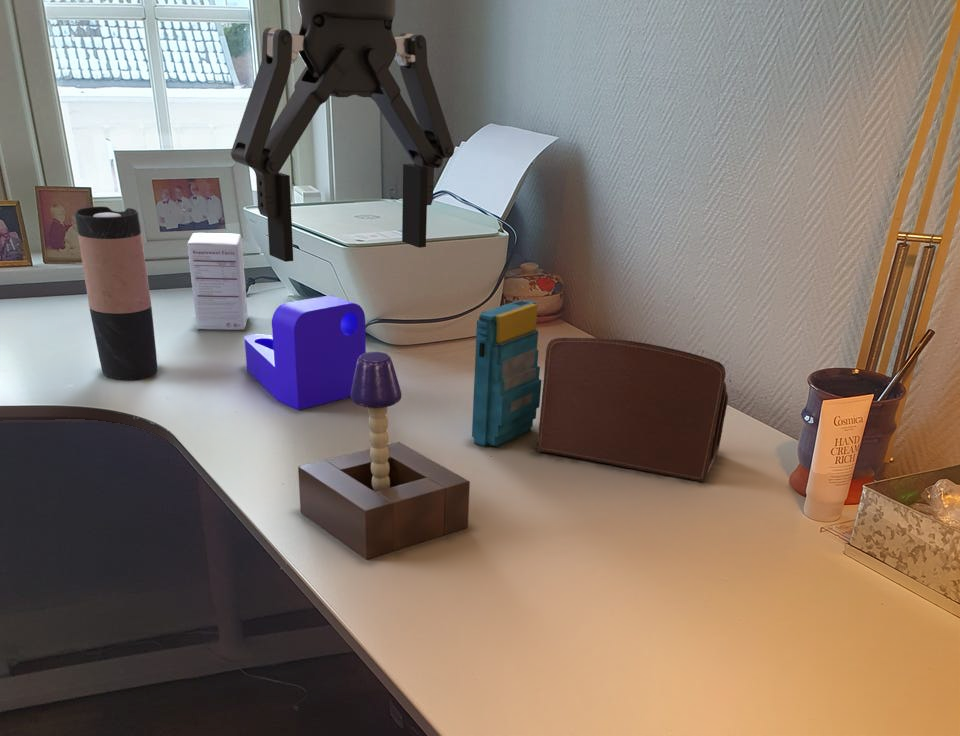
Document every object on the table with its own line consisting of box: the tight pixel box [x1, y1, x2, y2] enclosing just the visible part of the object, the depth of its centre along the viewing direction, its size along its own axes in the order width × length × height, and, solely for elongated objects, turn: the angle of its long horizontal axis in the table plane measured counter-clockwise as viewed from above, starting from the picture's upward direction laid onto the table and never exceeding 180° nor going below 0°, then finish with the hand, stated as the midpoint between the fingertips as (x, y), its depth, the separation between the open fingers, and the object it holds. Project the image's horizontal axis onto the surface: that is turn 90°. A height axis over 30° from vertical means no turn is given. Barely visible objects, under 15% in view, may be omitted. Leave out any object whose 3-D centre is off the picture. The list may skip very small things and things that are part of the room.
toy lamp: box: [350, 351, 402, 492], centre depth 93 cm, size 5×5×17 cm
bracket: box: [243, 295, 367, 411], centre depth 128 cm, size 18×11×12 cm, turn 45°
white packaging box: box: [186, 232, 249, 331], centre depth 150 cm, size 7×7×13 cm
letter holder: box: [536, 337, 729, 483], centre depth 112 cm, size 10×20×14 cm, turn 70°
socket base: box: [297, 441, 471, 560], centre depth 97 cm, size 12×12×5 cm
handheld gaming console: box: [471, 299, 542, 448], centre depth 115 cm, size 10×4×15 cm, turn 145°
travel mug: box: [74, 206, 159, 381], centre depth 127 cm, size 8×8×20 cm
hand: (350, 251), depth 87 cm, fingers open, 13 cm apart
